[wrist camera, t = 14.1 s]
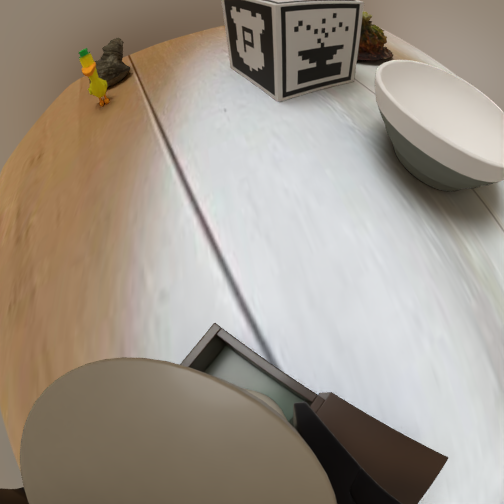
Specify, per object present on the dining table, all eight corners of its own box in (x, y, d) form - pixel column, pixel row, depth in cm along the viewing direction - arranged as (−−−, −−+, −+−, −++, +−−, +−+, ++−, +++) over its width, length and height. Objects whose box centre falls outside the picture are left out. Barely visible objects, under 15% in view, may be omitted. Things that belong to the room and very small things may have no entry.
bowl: (395, 99, 37) (408, 49, 28) (497, 168, 30) (524, 124, 21) (331, 154, 31) (342, 84, 23) (471, 255, 24) (521, 203, 16)
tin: (252, 484, 12) (198, 645, 1) (181, 433, 14) (-8, 471, 2) (307, 419, 14) (415, 487, 2) (234, 370, 15) (122, 286, 4)
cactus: (346, 33, 52) (348, 0, 43) (403, 57, 46) (411, 21, 37) (300, 45, 48) (301, 5, 39) (367, 72, 41) (374, 26, 33)
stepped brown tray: (354, 535, 13) (368, 557, 9) (159, 414, 20) (134, 417, 16) (421, 450, 16) (448, 457, 12) (229, 329, 23) (220, 315, 19)
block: (299, 50, 46) (299, -16, 33) (353, 81, 39) (363, 2, 26) (230, 67, 43) (220, -7, 30) (278, 102, 37) (275, 5, 24)
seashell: (139, 49, 40) (136, 37, 45) (80, 44, 34) (85, 32, 38) (123, 98, 48) (122, 80, 52) (69, 96, 41) (74, 78, 46)
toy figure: (114, 106, 41) (91, 50, 30) (96, 115, 41) (71, 61, 30) (112, 92, 44) (91, 42, 34) (95, 100, 44) (73, 51, 33)
